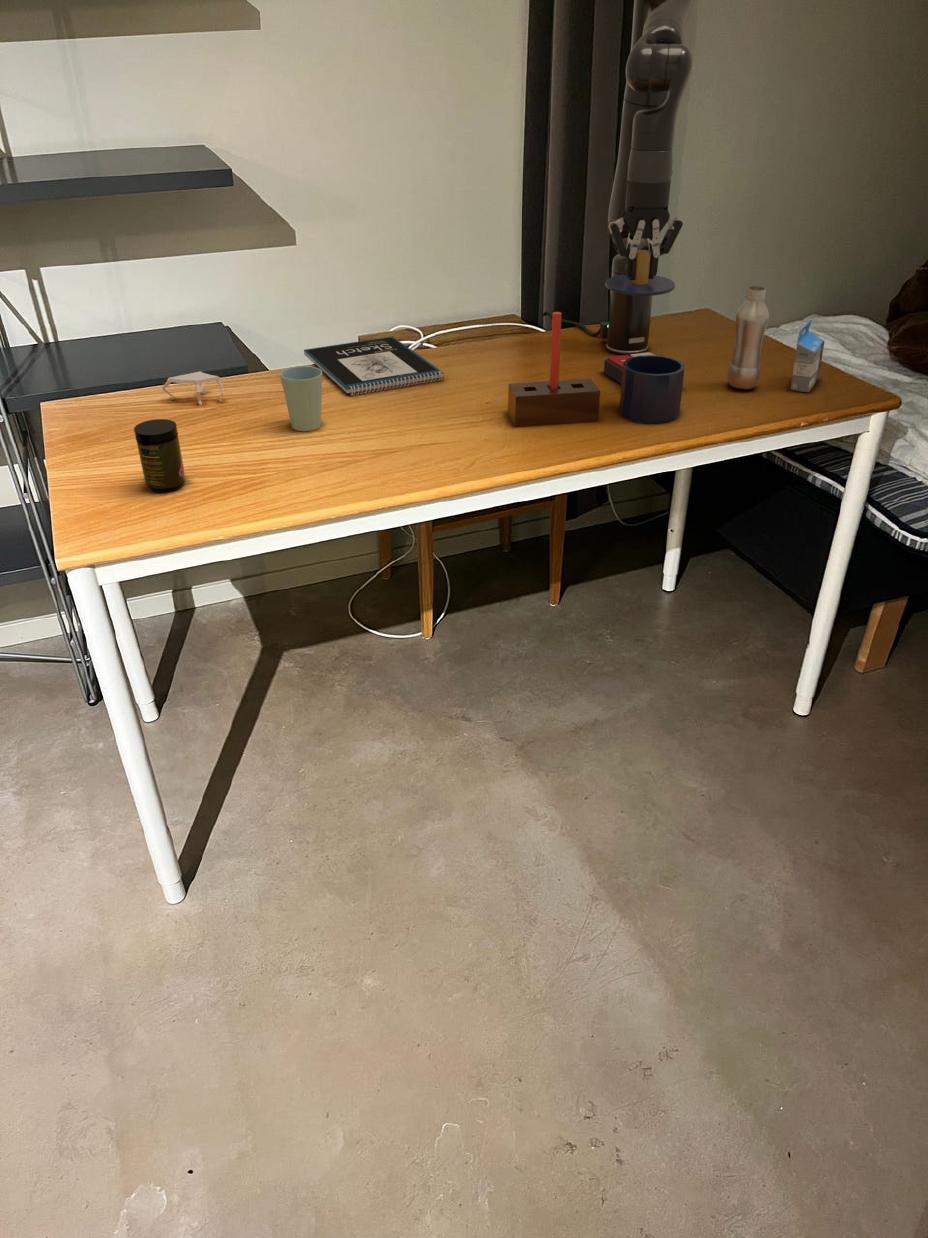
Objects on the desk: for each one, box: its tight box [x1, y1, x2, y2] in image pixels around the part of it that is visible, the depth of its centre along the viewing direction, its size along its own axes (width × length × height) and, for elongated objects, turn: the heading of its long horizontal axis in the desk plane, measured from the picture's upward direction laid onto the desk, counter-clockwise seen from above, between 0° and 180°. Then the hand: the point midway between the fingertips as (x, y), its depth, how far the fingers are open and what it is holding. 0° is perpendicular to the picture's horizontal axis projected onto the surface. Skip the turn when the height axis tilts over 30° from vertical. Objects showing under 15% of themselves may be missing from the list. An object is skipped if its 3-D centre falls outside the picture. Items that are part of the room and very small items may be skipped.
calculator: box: [603, 351, 685, 390], centre depth 206 cm, size 11×4×15 cm
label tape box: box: [790, 318, 825, 393], centre depth 201 cm, size 9×4×12 cm, turn 150°
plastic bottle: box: [727, 285, 770, 390], centre depth 198 cm, size 6×7×20 cm
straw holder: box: [507, 378, 601, 428], centre depth 189 cm, size 7×16×6 cm, turn 99°
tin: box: [618, 354, 686, 425], centre depth 190 cm, size 11×11×10 cm
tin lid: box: [604, 250, 676, 297], centre depth 180 cm, size 13×13×7 cm
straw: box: [549, 311, 562, 390], centre depth 185 cm, size 2×2×20 cm
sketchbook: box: [303, 336, 445, 396], centre depth 215 cm, size 22×30×2 cm
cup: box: [279, 365, 323, 432], centre depth 185 cm, size 8×8×10 cm
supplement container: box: [133, 418, 187, 493], centre depth 164 cm, size 7×7×10 cm
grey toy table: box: [161, 370, 226, 406], centre depth 199 cm, size 12×8×5 cm
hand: (640, 277), depth 181 cm, fingers closed on tin lid, 3 cm apart
